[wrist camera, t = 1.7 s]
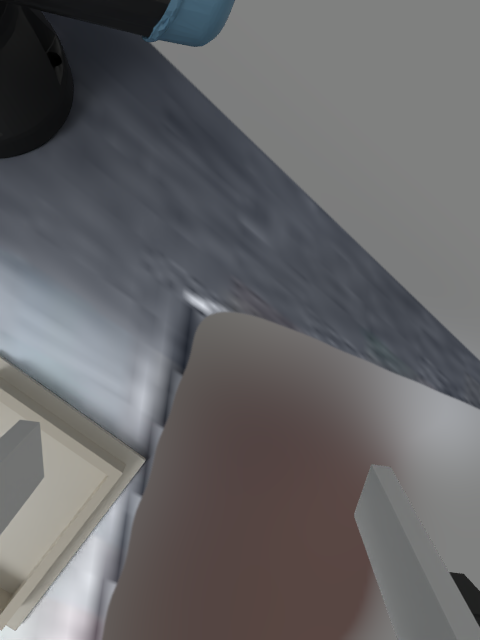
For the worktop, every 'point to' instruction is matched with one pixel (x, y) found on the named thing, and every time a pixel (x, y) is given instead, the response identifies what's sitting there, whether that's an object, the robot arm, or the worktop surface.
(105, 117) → the worktop surface
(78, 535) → the square tray
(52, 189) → the worktop surface
